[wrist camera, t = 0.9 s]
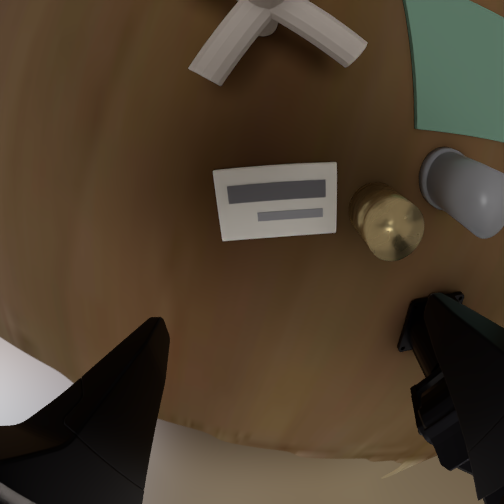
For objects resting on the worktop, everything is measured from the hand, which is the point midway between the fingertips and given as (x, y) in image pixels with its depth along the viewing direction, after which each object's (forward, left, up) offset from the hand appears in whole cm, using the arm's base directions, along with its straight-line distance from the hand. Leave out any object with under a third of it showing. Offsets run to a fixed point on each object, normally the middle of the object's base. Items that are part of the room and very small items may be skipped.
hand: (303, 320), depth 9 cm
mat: (+11, -16, -12) cm, 23 cm away
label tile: (0, 0, -12) cm, 12 cm away
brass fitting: (-1, -7, -12) cm, 14 cm away
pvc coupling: (+1, -13, -12) cm, 18 cm away
